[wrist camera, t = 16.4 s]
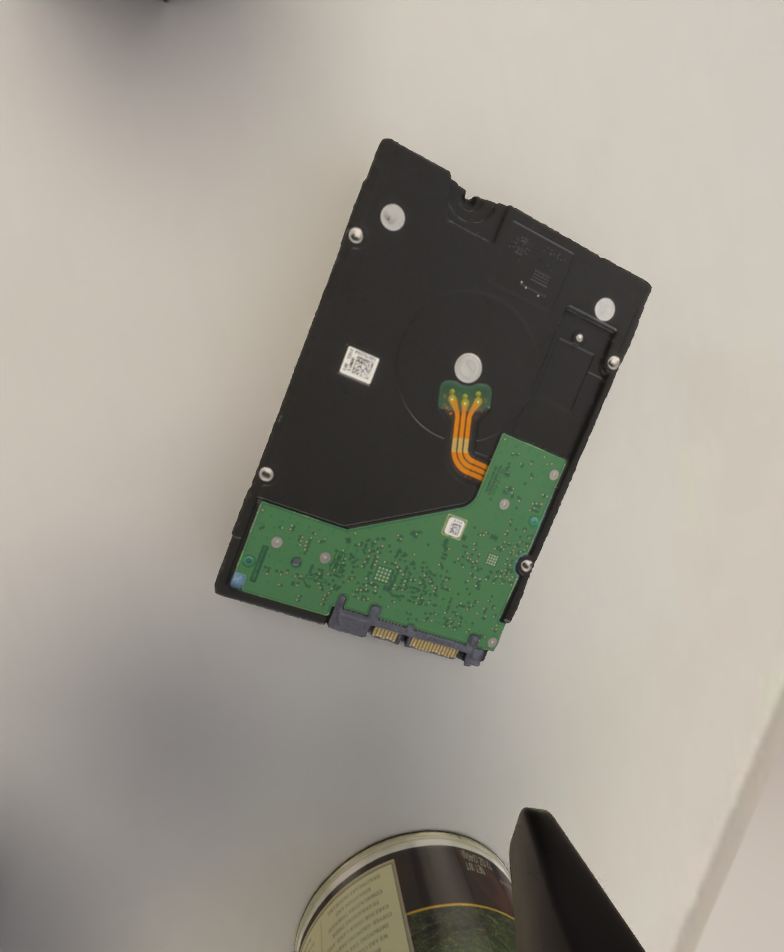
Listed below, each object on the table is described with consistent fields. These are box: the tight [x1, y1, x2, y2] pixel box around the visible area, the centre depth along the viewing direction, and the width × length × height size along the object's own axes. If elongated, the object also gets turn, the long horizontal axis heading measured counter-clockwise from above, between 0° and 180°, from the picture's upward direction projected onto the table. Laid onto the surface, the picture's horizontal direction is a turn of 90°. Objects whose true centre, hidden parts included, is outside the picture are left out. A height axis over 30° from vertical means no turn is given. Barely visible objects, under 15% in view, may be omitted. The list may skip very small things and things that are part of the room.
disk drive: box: [215, 139, 652, 666], centre depth 18 cm, size 10×3×15 cm
